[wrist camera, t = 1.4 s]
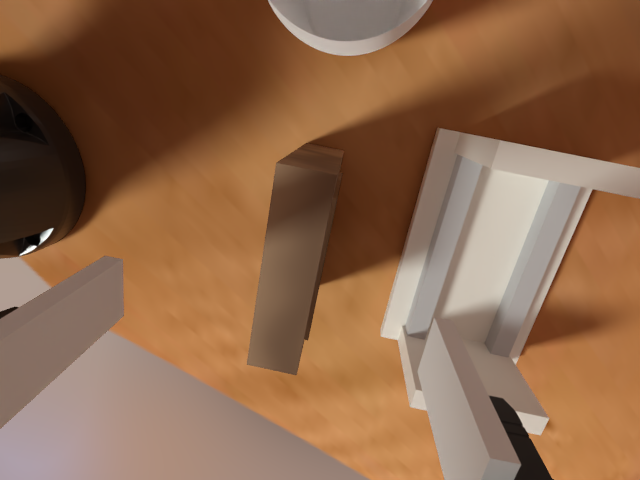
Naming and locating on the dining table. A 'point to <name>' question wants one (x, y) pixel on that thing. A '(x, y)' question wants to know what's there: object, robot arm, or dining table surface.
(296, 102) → the dining table surface
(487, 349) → the track frame
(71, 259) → the dining table surface
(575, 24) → the dining table surface
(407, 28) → the cup
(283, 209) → the door panel
